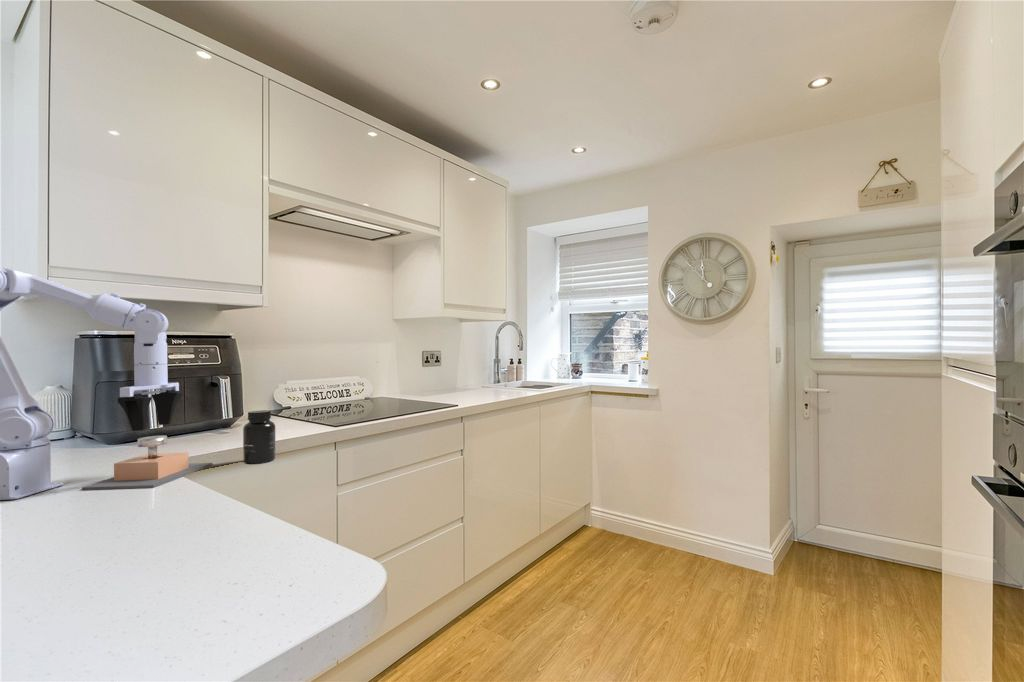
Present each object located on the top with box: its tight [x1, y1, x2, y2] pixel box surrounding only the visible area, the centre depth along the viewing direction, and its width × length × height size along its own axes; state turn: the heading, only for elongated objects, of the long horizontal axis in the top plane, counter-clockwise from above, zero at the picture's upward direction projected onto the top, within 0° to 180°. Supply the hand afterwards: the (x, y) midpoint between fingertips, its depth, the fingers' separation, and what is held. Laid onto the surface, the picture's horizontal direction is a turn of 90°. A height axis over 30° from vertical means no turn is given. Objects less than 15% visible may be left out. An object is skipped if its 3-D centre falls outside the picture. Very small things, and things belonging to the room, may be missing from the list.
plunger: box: [137, 434, 168, 459], centre depth 99 cm, size 5×5×5 cm
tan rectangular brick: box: [113, 451, 190, 481], centre depth 99 cm, size 9×9×4 cm
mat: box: [81, 462, 214, 491], centre depth 99 cm, size 18×14×1 cm
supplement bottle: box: [242, 409, 277, 465], centre depth 111 cm, size 7×7×12 cm
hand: (152, 427), depth 100 cm, fingers open, 7 cm apart
